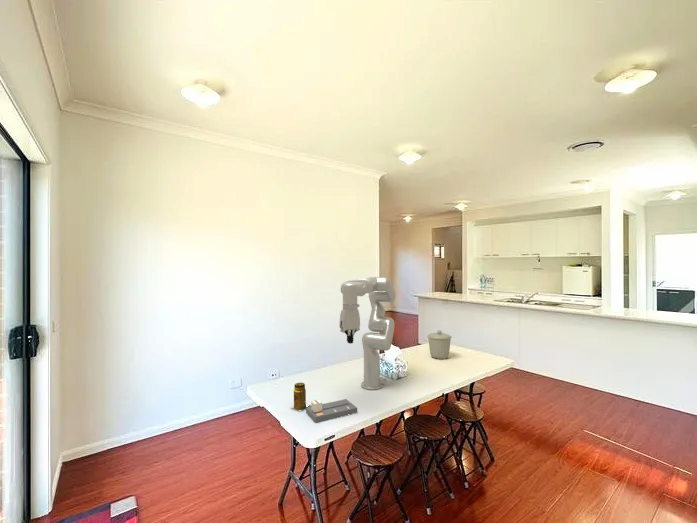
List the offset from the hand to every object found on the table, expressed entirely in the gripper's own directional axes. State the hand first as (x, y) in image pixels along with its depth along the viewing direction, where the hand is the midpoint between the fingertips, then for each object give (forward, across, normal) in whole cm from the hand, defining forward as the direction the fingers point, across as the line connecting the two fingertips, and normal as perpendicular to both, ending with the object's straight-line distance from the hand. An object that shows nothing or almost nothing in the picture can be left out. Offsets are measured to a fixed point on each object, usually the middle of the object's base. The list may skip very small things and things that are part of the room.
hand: (350, 342), depth 173 cm
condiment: (+32, +23, -10) cm, 41 cm away
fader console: (+32, +12, +3) cm, 34 cm away
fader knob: (+29, +20, +3) cm, 35 cm away
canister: (+32, -102, -45) cm, 116 cm away
